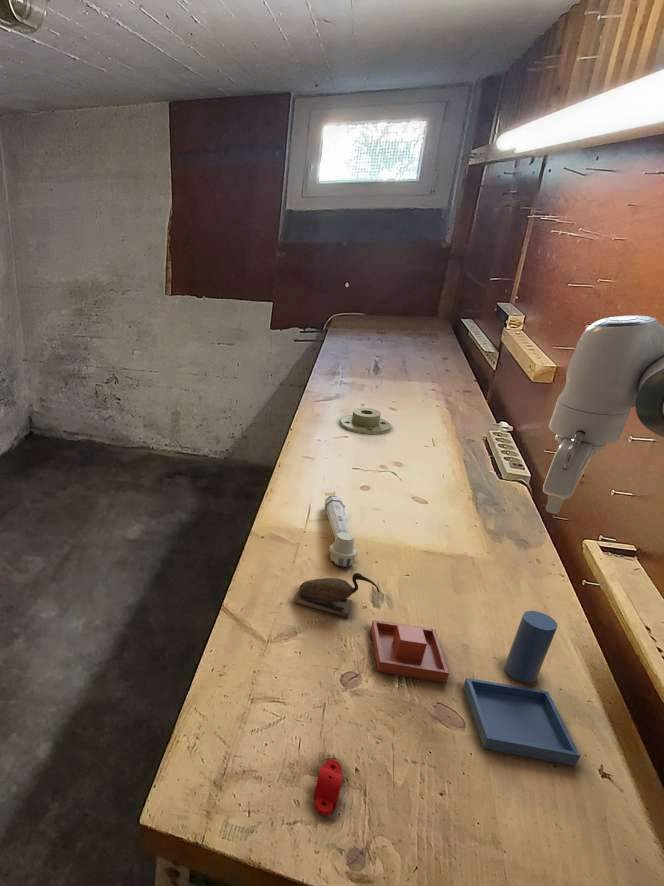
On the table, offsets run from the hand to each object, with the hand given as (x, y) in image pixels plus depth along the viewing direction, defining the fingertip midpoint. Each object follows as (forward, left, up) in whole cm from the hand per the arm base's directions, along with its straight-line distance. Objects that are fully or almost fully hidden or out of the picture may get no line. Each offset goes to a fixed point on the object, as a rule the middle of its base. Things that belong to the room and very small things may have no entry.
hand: (558, 500), depth 92 cm
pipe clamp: (+35, +43, -24) cm, 61 cm away
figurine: (+32, +5, -24) cm, 41 cm away
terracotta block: (+21, +15, -24) cm, 35 cm away
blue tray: (+8, +26, -24) cm, 37 cm away
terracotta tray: (+21, +15, -24) cm, 36 cm away
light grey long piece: (+30, -20, -24) cm, 44 cm away
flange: (+17, -91, -24) cm, 96 cm away
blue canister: (+4, +15, -24) cm, 29 cm away
